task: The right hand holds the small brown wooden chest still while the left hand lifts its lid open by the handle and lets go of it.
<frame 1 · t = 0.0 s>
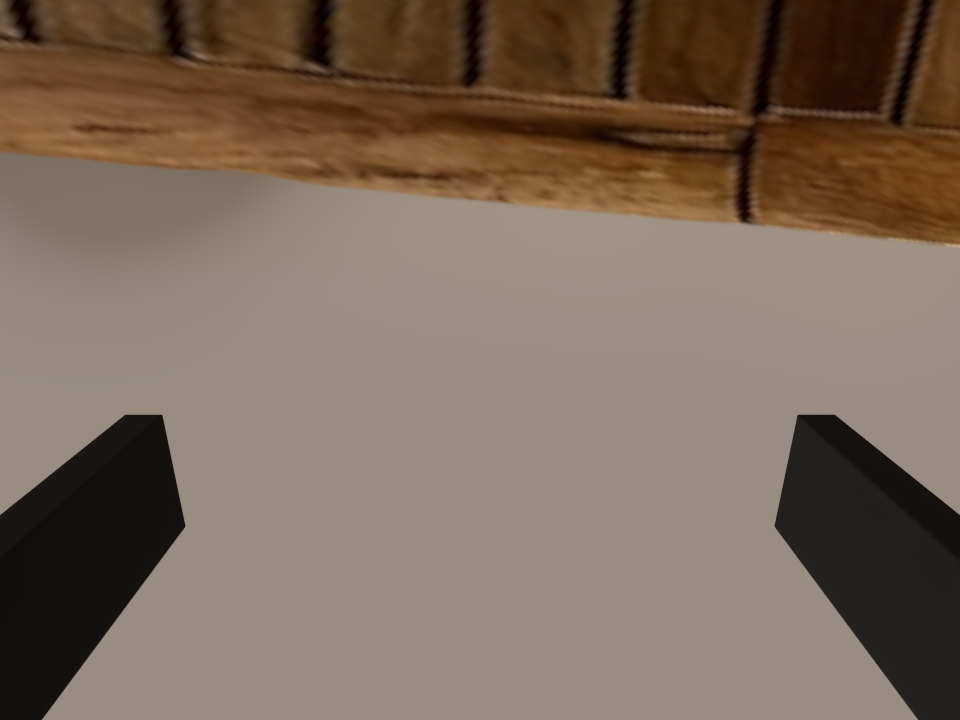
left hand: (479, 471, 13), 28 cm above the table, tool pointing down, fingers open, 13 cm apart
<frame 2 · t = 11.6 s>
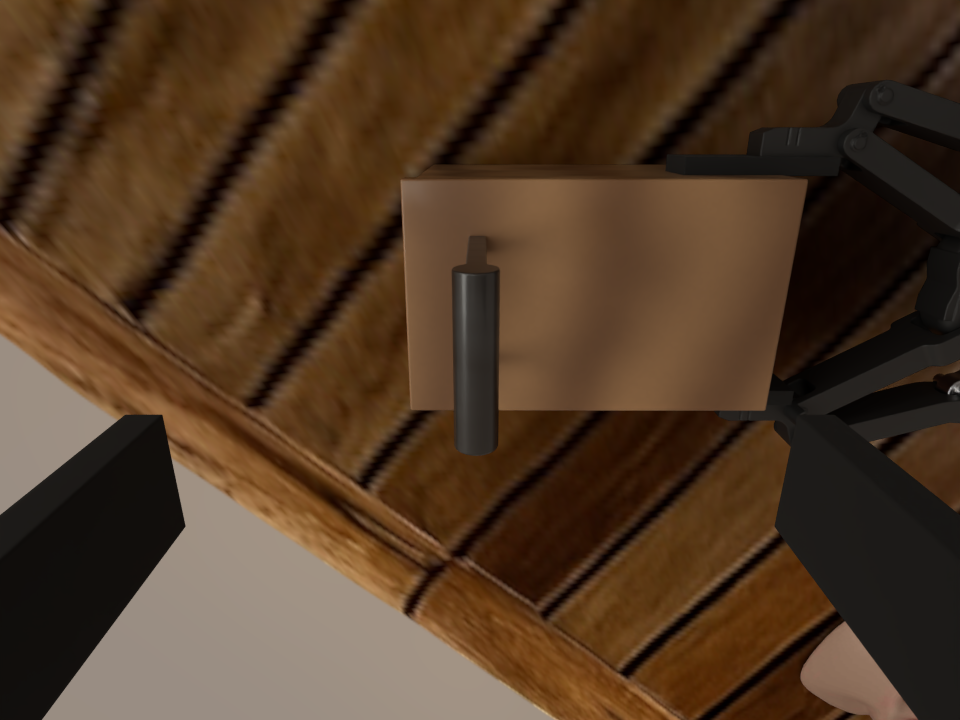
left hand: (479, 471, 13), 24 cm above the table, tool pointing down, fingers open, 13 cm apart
anatomical model: (893, 655, 46), on the table
chest: (568, 254, 35), on the table, touching right hand
lid: (612, 327, 22), point 14 cm above the table, hinge at 0.0°
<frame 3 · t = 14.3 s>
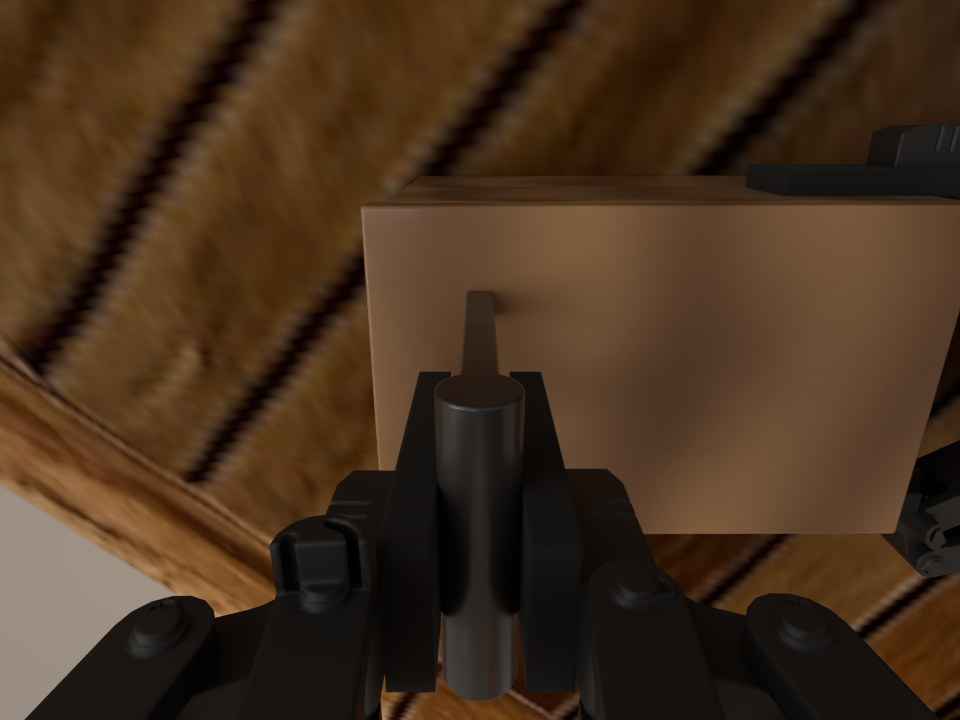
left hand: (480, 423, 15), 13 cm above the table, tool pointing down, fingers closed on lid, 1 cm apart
chest: (598, 293, 27), on the table, touching right hand
lid: (696, 445, 14), point 14 cm above the table, hinge at 0.3°, touching left hand
when the right hand's fingers open (7 cm above the table, at t = 22.4 s): chest stays where it is, on the table.
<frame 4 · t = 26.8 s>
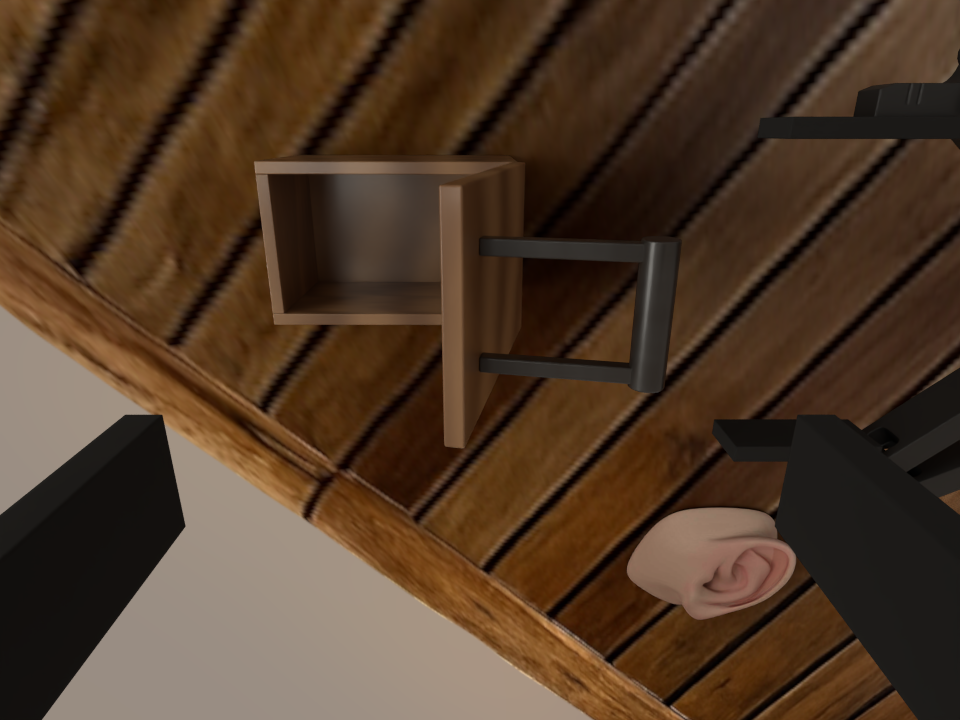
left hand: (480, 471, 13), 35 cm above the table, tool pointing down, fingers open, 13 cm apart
anatomical model: (701, 554, 57), on the table
chest: (407, 224, 46), on the table
lid: (570, 282, 28), point 19 cm above the table, hinge at 78.3°
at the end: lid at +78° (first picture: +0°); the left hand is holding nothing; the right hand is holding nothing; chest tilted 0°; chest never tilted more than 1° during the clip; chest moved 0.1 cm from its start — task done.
